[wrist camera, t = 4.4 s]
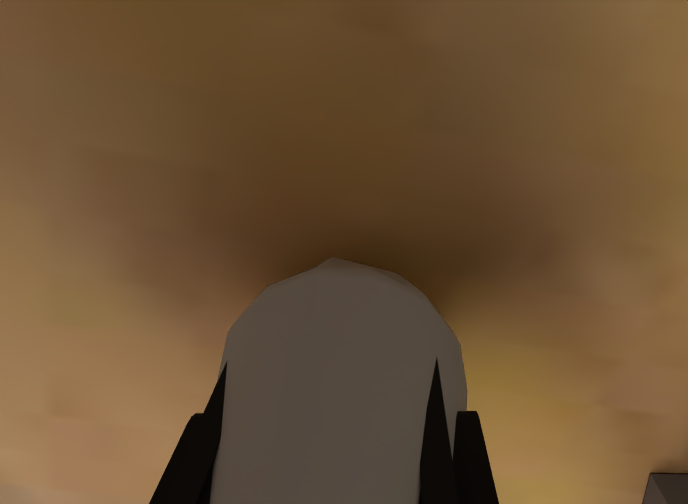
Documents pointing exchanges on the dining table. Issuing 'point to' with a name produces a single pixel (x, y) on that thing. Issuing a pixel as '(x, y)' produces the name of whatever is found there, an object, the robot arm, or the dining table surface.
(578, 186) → the dining table surface
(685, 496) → the cabinet
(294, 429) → the salt shaker
